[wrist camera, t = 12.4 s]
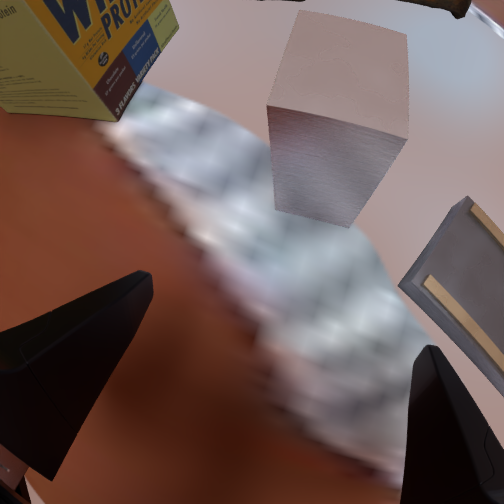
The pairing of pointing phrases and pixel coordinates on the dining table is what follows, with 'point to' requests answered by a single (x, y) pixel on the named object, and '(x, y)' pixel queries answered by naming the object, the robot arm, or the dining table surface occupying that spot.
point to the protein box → (79, 54)
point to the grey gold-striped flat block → (465, 286)
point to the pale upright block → (336, 115)
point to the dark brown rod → (438, 5)
